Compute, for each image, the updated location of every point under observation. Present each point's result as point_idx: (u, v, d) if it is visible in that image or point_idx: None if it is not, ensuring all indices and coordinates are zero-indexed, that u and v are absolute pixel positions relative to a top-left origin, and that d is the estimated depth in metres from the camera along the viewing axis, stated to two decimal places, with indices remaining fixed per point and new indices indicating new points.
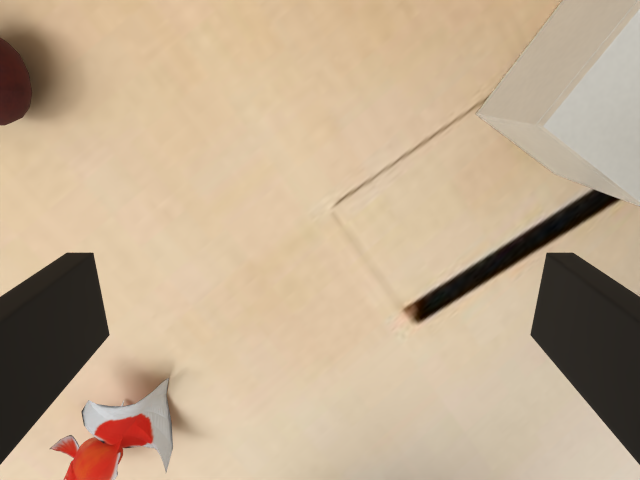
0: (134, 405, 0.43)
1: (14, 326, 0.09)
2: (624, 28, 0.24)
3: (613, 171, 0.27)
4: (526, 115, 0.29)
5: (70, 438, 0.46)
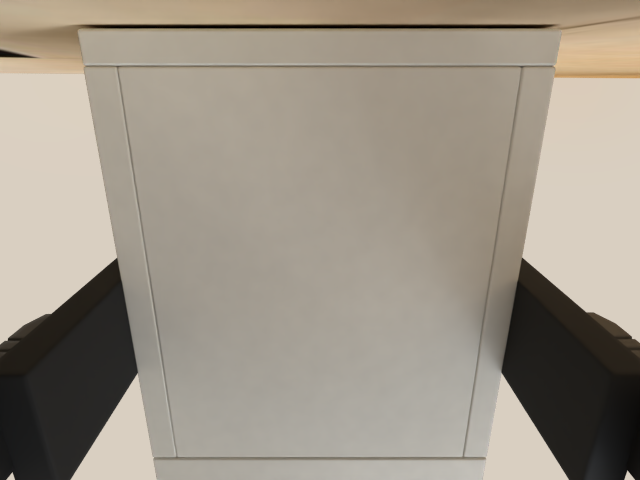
0: None
1: (114, 301, 0.10)
2: None
3: None
4: None
5: None
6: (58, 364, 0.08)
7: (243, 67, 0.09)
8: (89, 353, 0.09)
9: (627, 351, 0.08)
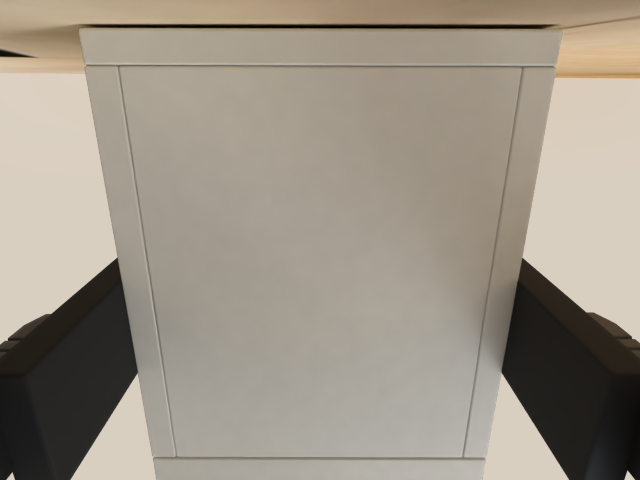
0: None
1: (114, 301, 0.10)
2: None
3: None
4: None
5: None
6: (58, 364, 0.08)
7: (244, 67, 0.09)
8: (89, 353, 0.09)
9: (628, 350, 0.08)
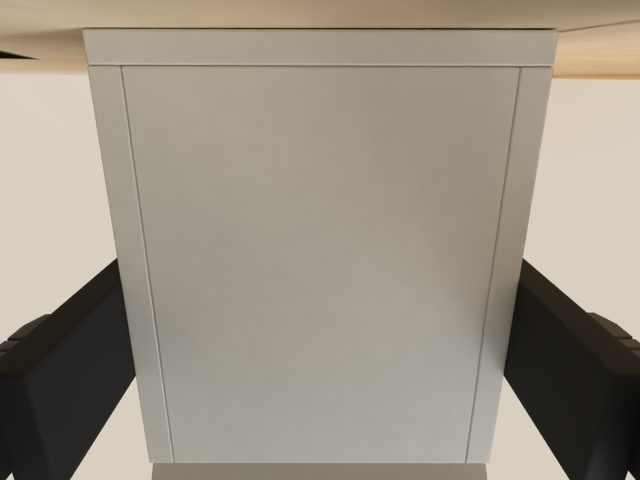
0: None
1: (113, 301, 0.10)
2: None
3: None
4: None
5: None
6: (57, 364, 0.08)
7: (245, 67, 0.09)
8: (88, 353, 0.09)
9: (628, 350, 0.08)
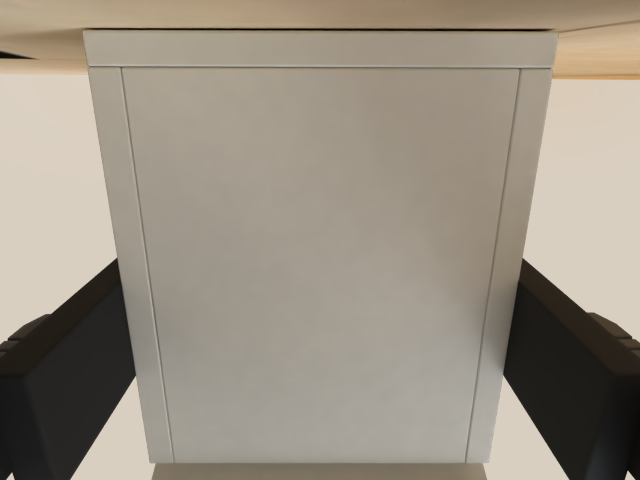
0: None
1: (113, 301, 0.10)
2: None
3: None
4: None
5: None
6: (57, 364, 0.08)
7: (245, 68, 0.09)
8: (89, 353, 0.09)
9: (628, 350, 0.08)
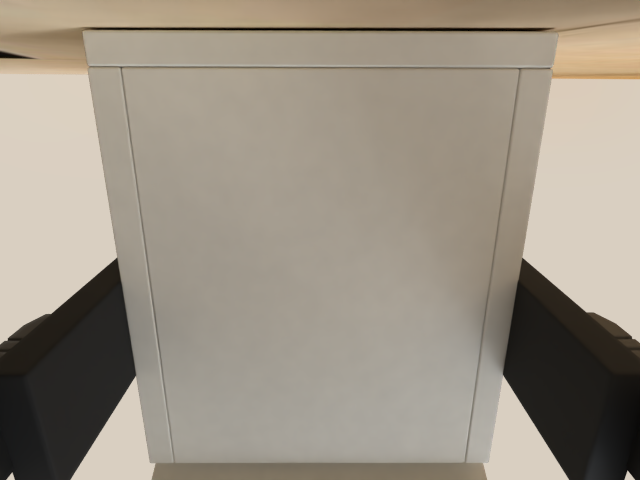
0: None
1: (114, 301, 0.10)
2: None
3: None
4: None
5: None
6: (58, 364, 0.08)
7: (245, 68, 0.09)
8: (89, 353, 0.09)
9: (627, 350, 0.08)
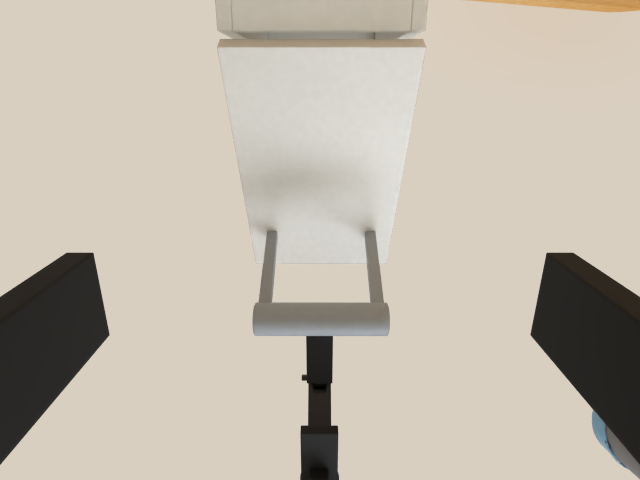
0: None
1: (14, 326, 0.09)
2: (403, 161, 0.25)
3: (302, 56, 0.20)
4: None
5: None
6: None
7: None
8: None
9: None
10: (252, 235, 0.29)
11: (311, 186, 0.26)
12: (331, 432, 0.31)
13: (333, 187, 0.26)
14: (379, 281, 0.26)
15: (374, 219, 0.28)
